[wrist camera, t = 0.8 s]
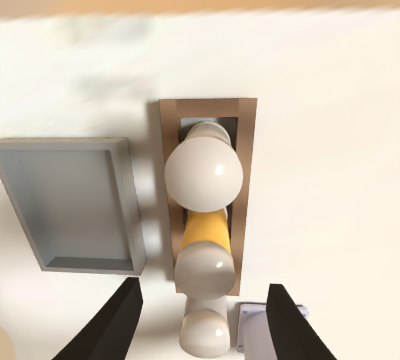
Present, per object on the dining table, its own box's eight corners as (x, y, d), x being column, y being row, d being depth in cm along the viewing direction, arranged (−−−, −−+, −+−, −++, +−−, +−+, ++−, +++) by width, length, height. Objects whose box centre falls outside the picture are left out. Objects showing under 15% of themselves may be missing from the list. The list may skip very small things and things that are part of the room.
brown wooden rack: (237, 283, 22) (239, 295, 21) (178, 281, 23) (176, 292, 21) (253, 98, 15) (257, 97, 13) (163, 99, 15) (158, 99, 14)
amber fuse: (225, 225, 19) (233, 301, 12) (189, 224, 20) (175, 298, 12) (227, 192, 18) (237, 256, 11) (188, 192, 18) (171, 253, 11)
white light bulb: (228, 164, 17) (240, 213, 10) (187, 163, 17) (167, 211, 10) (230, 120, 16) (246, 138, 8) (185, 121, 16) (160, 138, 8)
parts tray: (146, 260, 22) (140, 275, 20) (55, 257, 23) (41, 271, 21) (127, 137, 17) (116, 142, 15) (8, 138, 17) (-16, 142, 15)
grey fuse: (223, 272, 22) (229, 360, 15) (191, 271, 22) (180, 356, 15) (225, 247, 20) (231, 329, 13) (190, 245, 21) (177, 326, 13)
